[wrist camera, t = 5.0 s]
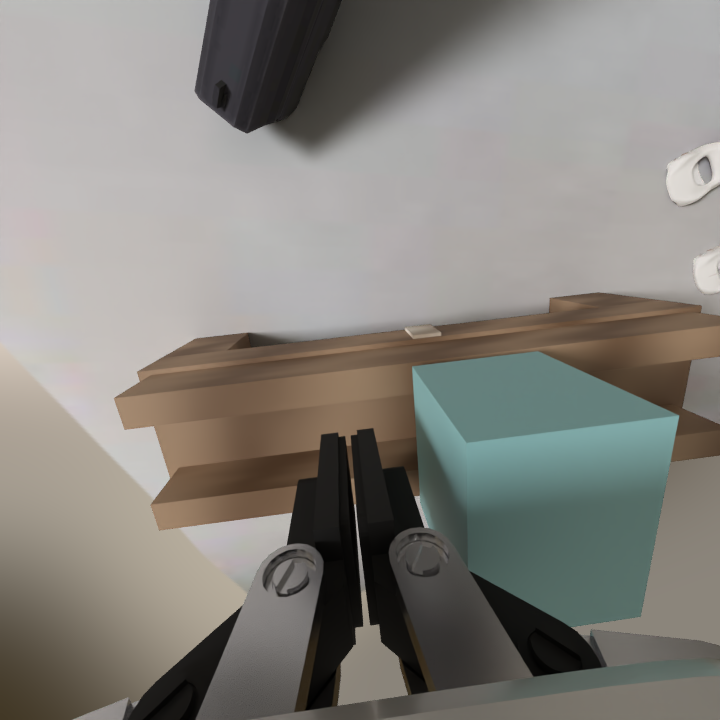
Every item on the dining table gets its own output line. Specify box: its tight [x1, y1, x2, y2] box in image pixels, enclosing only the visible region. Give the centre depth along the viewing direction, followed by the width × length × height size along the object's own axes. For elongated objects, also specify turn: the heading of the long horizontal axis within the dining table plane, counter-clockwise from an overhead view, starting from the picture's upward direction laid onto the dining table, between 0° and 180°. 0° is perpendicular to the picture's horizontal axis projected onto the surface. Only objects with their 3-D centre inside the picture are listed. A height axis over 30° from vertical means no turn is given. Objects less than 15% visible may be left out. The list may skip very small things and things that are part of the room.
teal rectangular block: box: [412, 351, 679, 627], centre depth 11 cm, size 4×6×8 cm
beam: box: [114, 293, 720, 530], centre depth 17 cm, size 24×6×8 cm, turn 96°
